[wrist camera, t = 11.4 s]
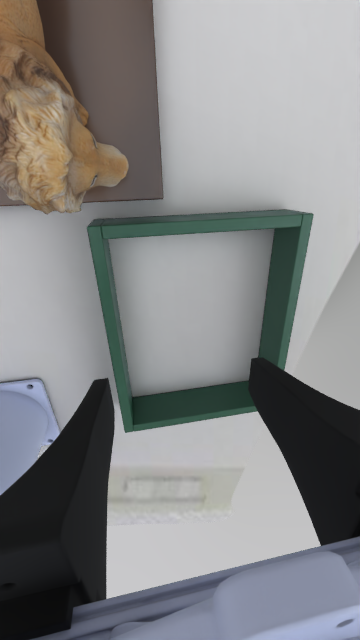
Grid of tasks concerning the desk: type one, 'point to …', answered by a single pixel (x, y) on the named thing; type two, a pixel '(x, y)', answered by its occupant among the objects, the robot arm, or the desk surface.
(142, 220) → the storage box
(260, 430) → the desk surface
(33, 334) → the desk surface
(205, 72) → the desk surface
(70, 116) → the lion figurine
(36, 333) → the desk surface
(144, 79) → the stand
